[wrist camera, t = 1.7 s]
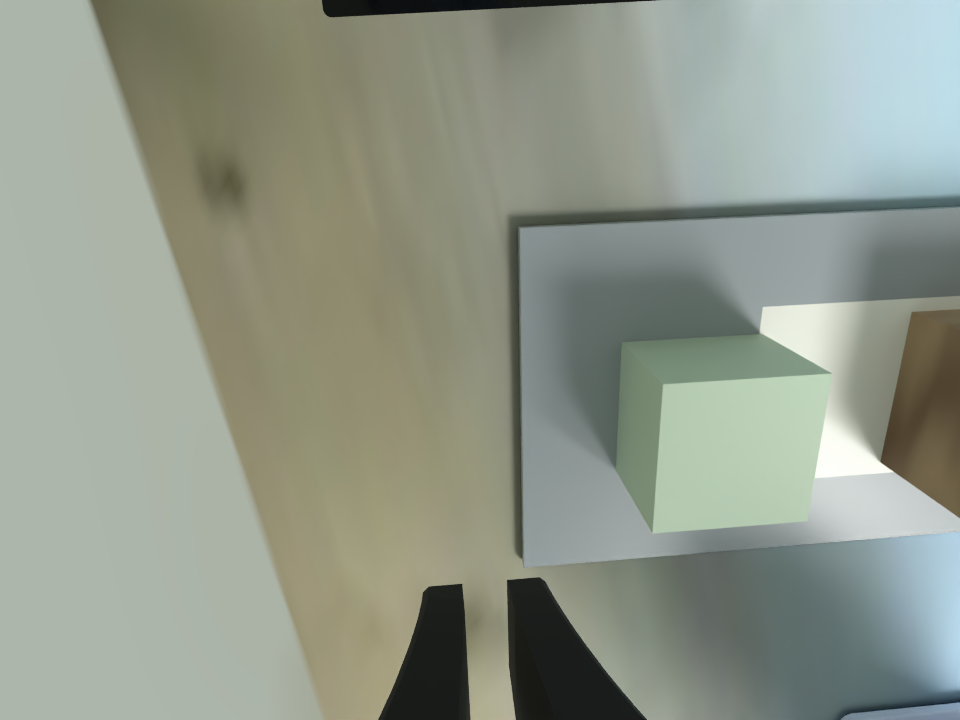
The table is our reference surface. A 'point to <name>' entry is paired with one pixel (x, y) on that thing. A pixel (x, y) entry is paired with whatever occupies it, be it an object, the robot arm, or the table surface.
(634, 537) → the plate
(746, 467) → the green block
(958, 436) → the walnut block
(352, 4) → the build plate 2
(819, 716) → the table surface
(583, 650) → the robot arm
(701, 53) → the table surface
